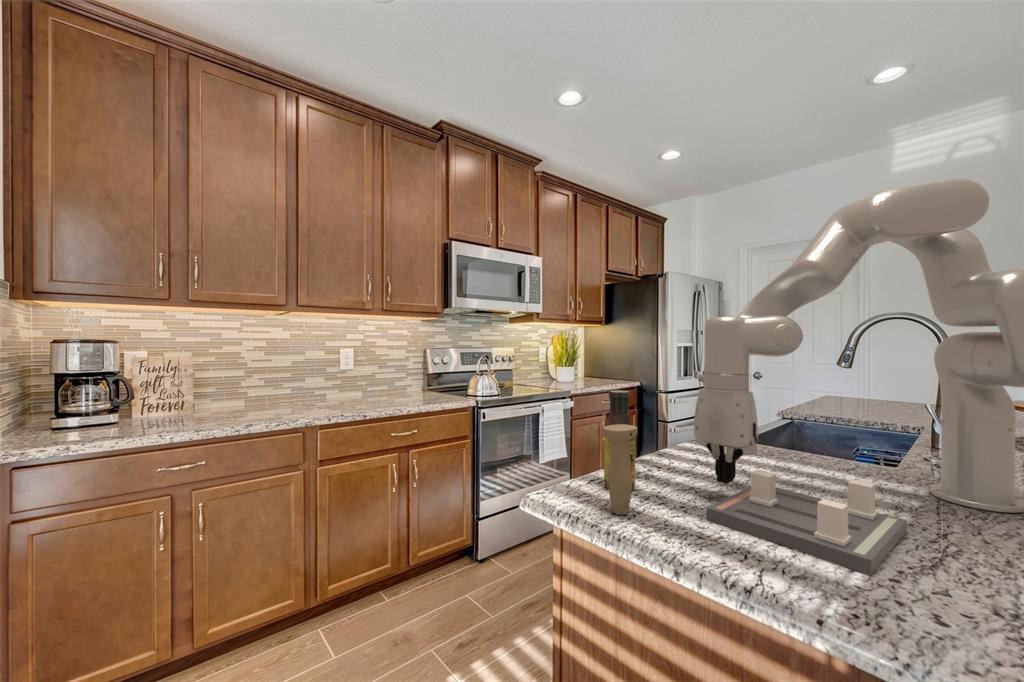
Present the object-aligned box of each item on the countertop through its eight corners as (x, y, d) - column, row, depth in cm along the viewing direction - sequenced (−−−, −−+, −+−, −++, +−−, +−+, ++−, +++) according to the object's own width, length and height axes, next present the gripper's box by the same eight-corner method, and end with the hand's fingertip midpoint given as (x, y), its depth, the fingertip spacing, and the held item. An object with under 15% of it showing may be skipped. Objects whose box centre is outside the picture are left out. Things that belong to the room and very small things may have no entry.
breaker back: (850, 508, 73) (850, 478, 73) (878, 515, 70) (878, 484, 70) (844, 512, 71) (845, 482, 71) (872, 520, 68) (873, 488, 68)
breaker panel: (758, 493, 86) (758, 482, 86) (906, 532, 68) (906, 519, 68) (706, 519, 73) (706, 507, 73) (870, 575, 56) (871, 560, 56)
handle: (642, 512, 77) (642, 427, 76) (618, 521, 73) (618, 432, 73) (621, 503, 80) (621, 423, 80) (597, 512, 77) (597, 427, 76)
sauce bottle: (636, 494, 85) (636, 393, 85) (604, 492, 86) (604, 392, 86) (634, 483, 92) (634, 389, 91) (603, 481, 93) (603, 389, 93)
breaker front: (821, 531, 64) (821, 497, 64) (851, 540, 61) (851, 505, 61) (814, 537, 62) (814, 502, 62) (844, 546, 59) (844, 510, 59)
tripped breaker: (756, 496, 78) (756, 469, 78) (778, 502, 75) (778, 474, 75) (748, 500, 76) (748, 472, 76) (770, 507, 73) (770, 477, 73)
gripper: (678, 380, 84) (677, 475, 84) (760, 388, 72) (759, 497, 72) (698, 378, 89) (697, 468, 89) (778, 385, 77) (777, 488, 77)
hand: (725, 481), depth 81 cm, fingers closed
